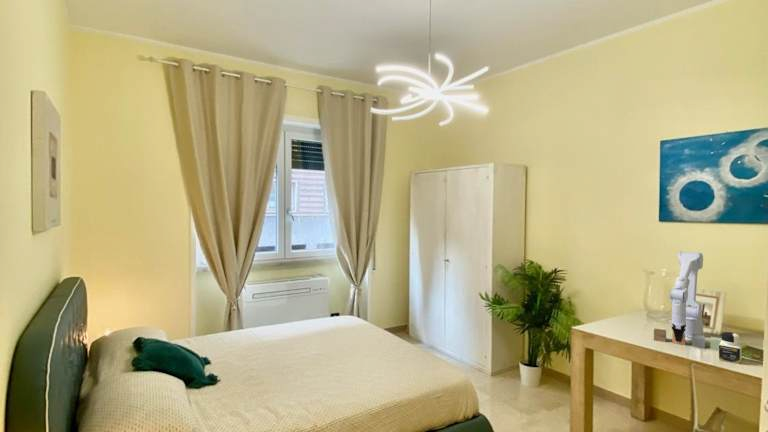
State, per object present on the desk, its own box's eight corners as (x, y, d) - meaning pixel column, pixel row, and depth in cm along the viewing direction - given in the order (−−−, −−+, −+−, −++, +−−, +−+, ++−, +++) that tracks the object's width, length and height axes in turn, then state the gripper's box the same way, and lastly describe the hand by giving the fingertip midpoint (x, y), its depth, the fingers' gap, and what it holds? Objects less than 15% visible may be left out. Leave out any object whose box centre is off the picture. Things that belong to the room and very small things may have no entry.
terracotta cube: (672, 340, 209) (672, 330, 209) (685, 342, 206) (685, 332, 206) (672, 343, 205) (672, 333, 205) (684, 345, 202) (684, 335, 202)
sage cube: (710, 347, 199) (710, 336, 199) (723, 349, 196) (723, 338, 196) (710, 349, 195) (710, 339, 195) (724, 352, 192) (724, 341, 192)
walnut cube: (654, 337, 214) (654, 328, 214) (666, 339, 211) (666, 330, 211) (653, 340, 210) (653, 330, 210) (665, 342, 207) (665, 332, 207)
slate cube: (692, 343, 204) (692, 333, 204) (704, 345, 201) (704, 335, 201) (691, 346, 200) (691, 336, 200) (704, 348, 197) (704, 338, 197)
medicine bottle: (718, 360, 182) (718, 333, 182) (720, 355, 188) (721, 329, 187) (739, 364, 177) (740, 336, 177) (741, 359, 182) (741, 333, 182)
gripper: (669, 308, 213) (669, 334, 214) (668, 314, 202) (668, 342, 202) (686, 310, 209) (686, 337, 210) (686, 317, 198) (685, 345, 198)
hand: (678, 339), depth 206 cm, fingers closed on terracotta cube, 5 cm apart
